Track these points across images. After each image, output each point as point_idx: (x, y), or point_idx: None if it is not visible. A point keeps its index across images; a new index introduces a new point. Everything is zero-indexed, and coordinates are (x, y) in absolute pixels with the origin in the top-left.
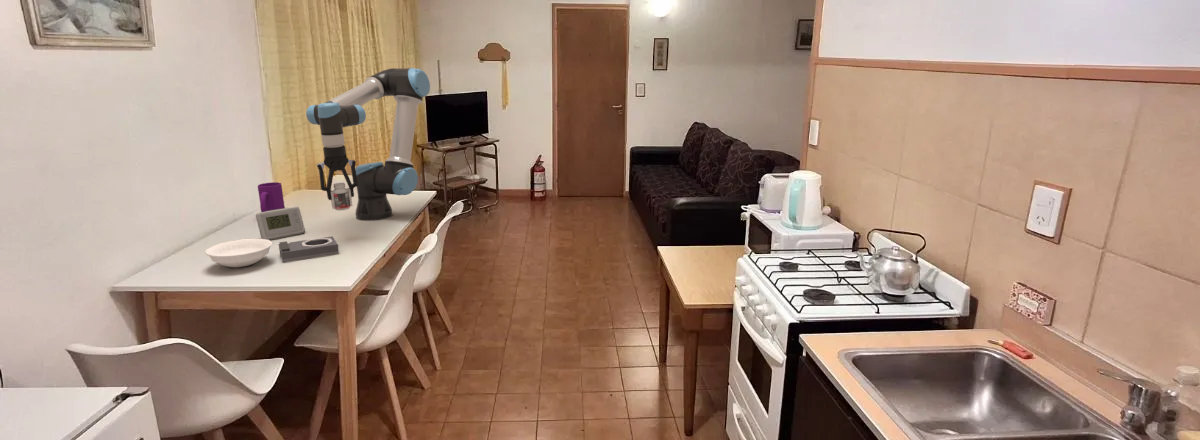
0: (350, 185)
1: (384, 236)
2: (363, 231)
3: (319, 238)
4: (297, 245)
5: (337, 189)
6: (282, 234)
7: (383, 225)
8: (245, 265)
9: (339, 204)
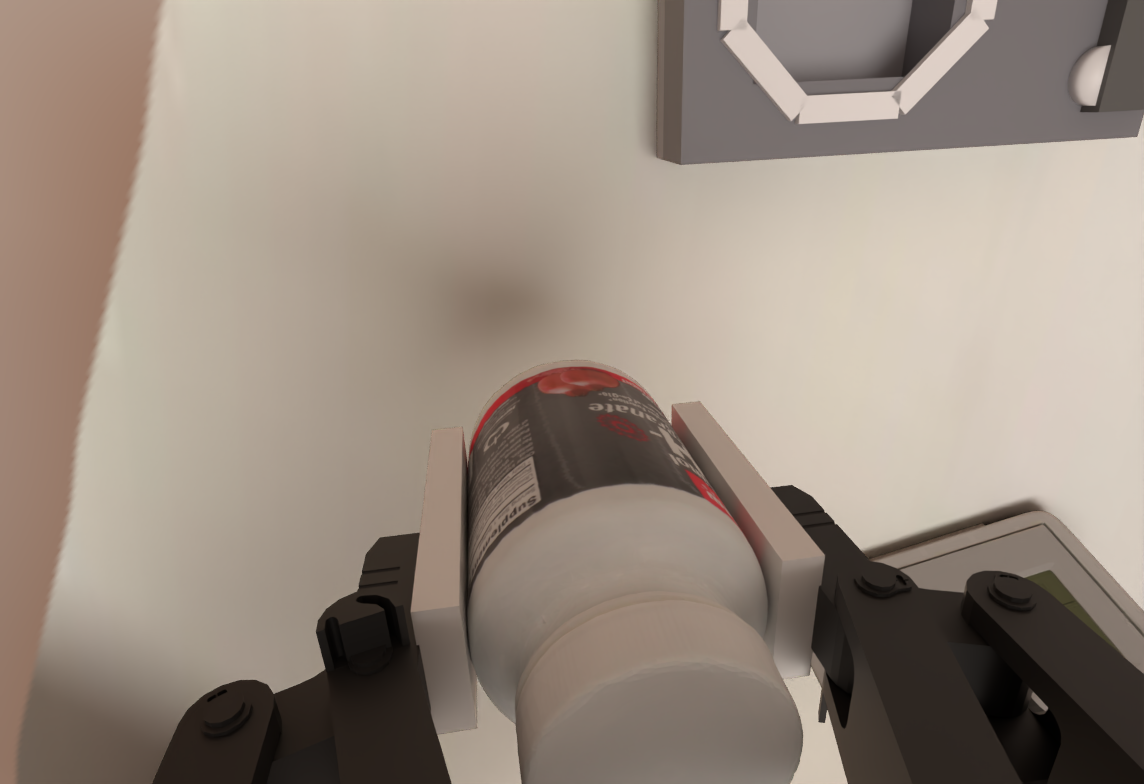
0: (383, 698)
1: (188, 238)
2: (384, 483)
3: (813, 108)
4: None
5: (700, 597)
6: (938, 551)
7: (218, 589)
8: None
9: (629, 395)
